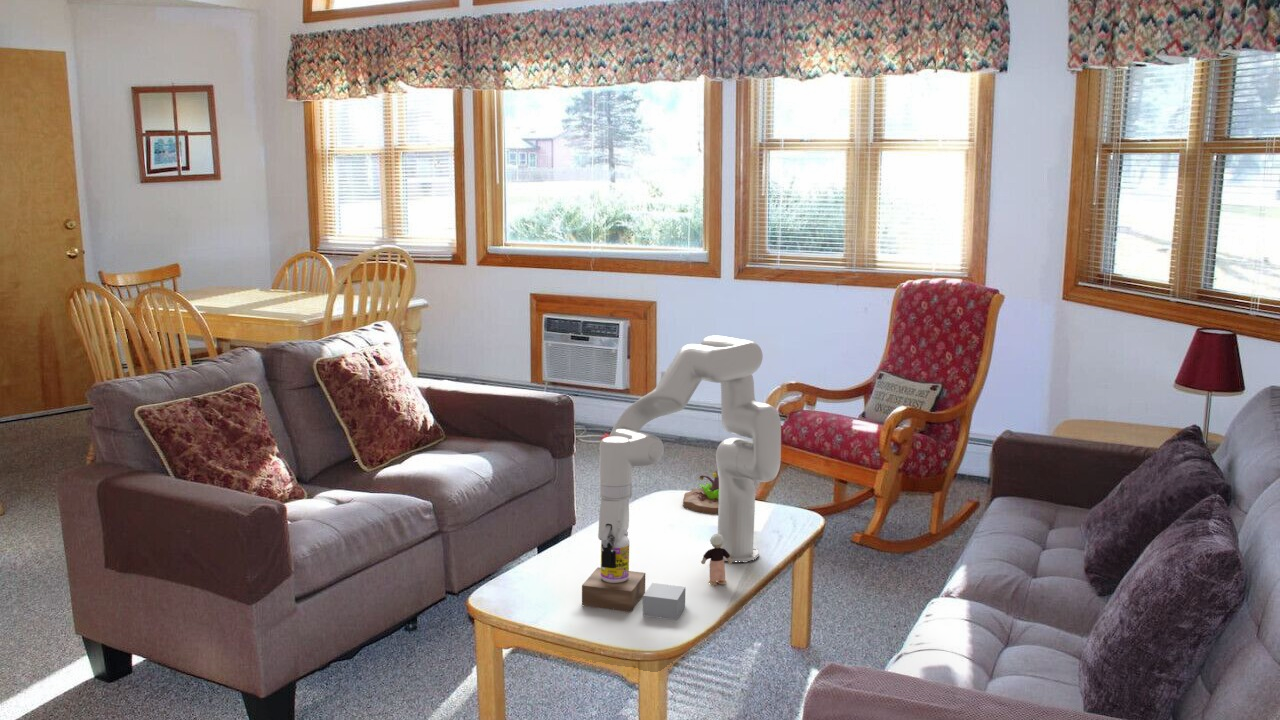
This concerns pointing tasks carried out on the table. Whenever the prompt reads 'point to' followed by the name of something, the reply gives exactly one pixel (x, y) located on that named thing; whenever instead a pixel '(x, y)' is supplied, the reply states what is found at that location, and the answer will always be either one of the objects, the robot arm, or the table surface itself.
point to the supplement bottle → (618, 562)
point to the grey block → (664, 601)
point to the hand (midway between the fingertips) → (614, 560)
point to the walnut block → (613, 592)
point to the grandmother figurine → (717, 560)
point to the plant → (704, 496)
